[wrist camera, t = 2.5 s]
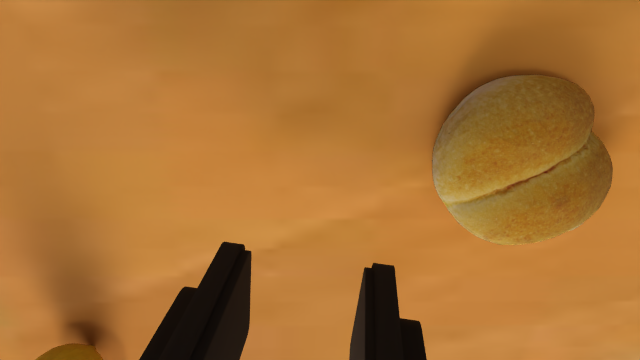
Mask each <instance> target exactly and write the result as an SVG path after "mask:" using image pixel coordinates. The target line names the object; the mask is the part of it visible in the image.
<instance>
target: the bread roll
mask: <svg viewBox="0 0 640 360" xmlns="http://www.w3.org/2000/svg"><path fill="white" fill-rule="evenodd" d="M593 120H594V106H593V104H592V102H591V99H590V97H589V95H588V94H587V93H586V92H585V91H584V90H583V89H582V88H580V87H579V86H578V85H576V84H574V83H572V82H569V81H566V80H564V79H560V78H556V77H550V76H544V75H515V76H509V77H504V78H499V79H496V80H493V81H491V82H489V83H486V84H484V85H482V86H480V87H478V88H477V89H475V90H474V91H473V92H471V93H470V94H469V95H468V96H466V97H465V98H464V99H463V100H462V101H461V102H460V103H459V104H458V106H457V107H456V108H455V109H454V110H453V112H452V113H451V114H450V115H449V116H448V118H447V119H446V121H445V122H444V124H443V126H442V128H441V130H440V132H439V134H438V136H437V139H436V142H435V145H434V149H433V160H432V164H433V171H432V173H433V181H434V185H435V188H436V191H437V193H438V195H439V197H440V198H441V200H442V201H443V202H444V204H445V205H446V207H447V209H448V210H449V212H450V213H451V214H452V216H453V217H454V218H455V219H456V221H457V222H458V223H459V224H461V225H462V226H463V227H464V228H465V229H467V230H468V231H469V232H471V233H472V234H474V235H475V236H477V237H479V238H481V239H483V240H486V241H489V242H493V243H496V244H499V245H520V244H528V243H535V242H541V241H544V240H547V239H550V238H553V237H556V236H558V235H561V234H563V233H565V232H567V231H569V230H573V229H575V228H577V227H578V226H579V225H581V224H583V222H584V221H586V220H587V219H588V218H589V217H591V216H592V215H593V214H594V213H595V212H596V210H597V209H598V208H599V207H600V206H601V204H602V202H603V201H604V199H605V197H606V195H607V193H608V191H609V189H610V186H611V181H612V170H613V168H612V162H611V159H610V156H609V154H608V152H607V150H606V148H605V146H604V144H603V142H602V141H601V140H600V139H599V138H598V137H597V136H596V135H595V134H594V133H593V132H591V129H592V125H593Z"/></svg>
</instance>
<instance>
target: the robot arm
mask: <svg viewBox="0 0 640 360" xmlns="http://www.w3.org/2000/svg"><path fill="white" fill-rule="evenodd" d="M250 285H251V251H247V250H245V246H244V245H243V244H236V243H229V242H223V243H222V244H221V246H220V248H219V250H218V252H217V253H216V255H215V257H214V259H213V261H212V263H211V264H210V266H209V268H208V270H207V272H206V273H205V275H204V277H203V279H202V281H201V283H200V284H199V286H198V288H192V287H184V288H182V290H181V291H180V292H179V294H178V296H177V297H176V299H175V301H174V302H173V304H172V306H171V307H170V309H169V311H168V312H167V314H166V316H165V317H164V319H163V321H162V322H161V324H160V326H159V327H158V329H157V331H156V332H155V334H154V336H153V338H152V339H151V341H150V343H149V344H148V346H147V348H146V349H145V351H144V353H143V354H142V356H141V358H140V359H139V360H239V359H240V356H241V353H242V350H243V347H244V344H245V341H246V338H247V335H248V330H249V321H250ZM349 360H427V359H426V353H425V347H424V340H423V334H422V328H421V324H420V322H419V321H415V320H408V319H401V318H400V317H399V307H398V297H397V287H396V277H395V268H394V266H391V265H384V264H377V263H373V265H372V268H366V267H365V268H364V272H363V278H362V283H361V289H360V294H359V300H358V305H357V310H356V316H355V321H354V327H353V332H352V338H351V344H350V358H349Z"/></svg>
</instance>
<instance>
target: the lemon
mask: <svg viewBox="0 0 640 360" xmlns="http://www.w3.org/2000/svg"><path fill="white" fill-rule="evenodd" d="M36 360H103V359H102V357H101V356H100V354H99V353H98V352H97V351H96V348H95V347H94V346H93V345H83V344H65V345H61V346H58V347H55V348H53V349H51V350H49V351H48V352H46V353H44V354H42V355H41V356H40V357H38V358H37V359H36Z"/></svg>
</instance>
